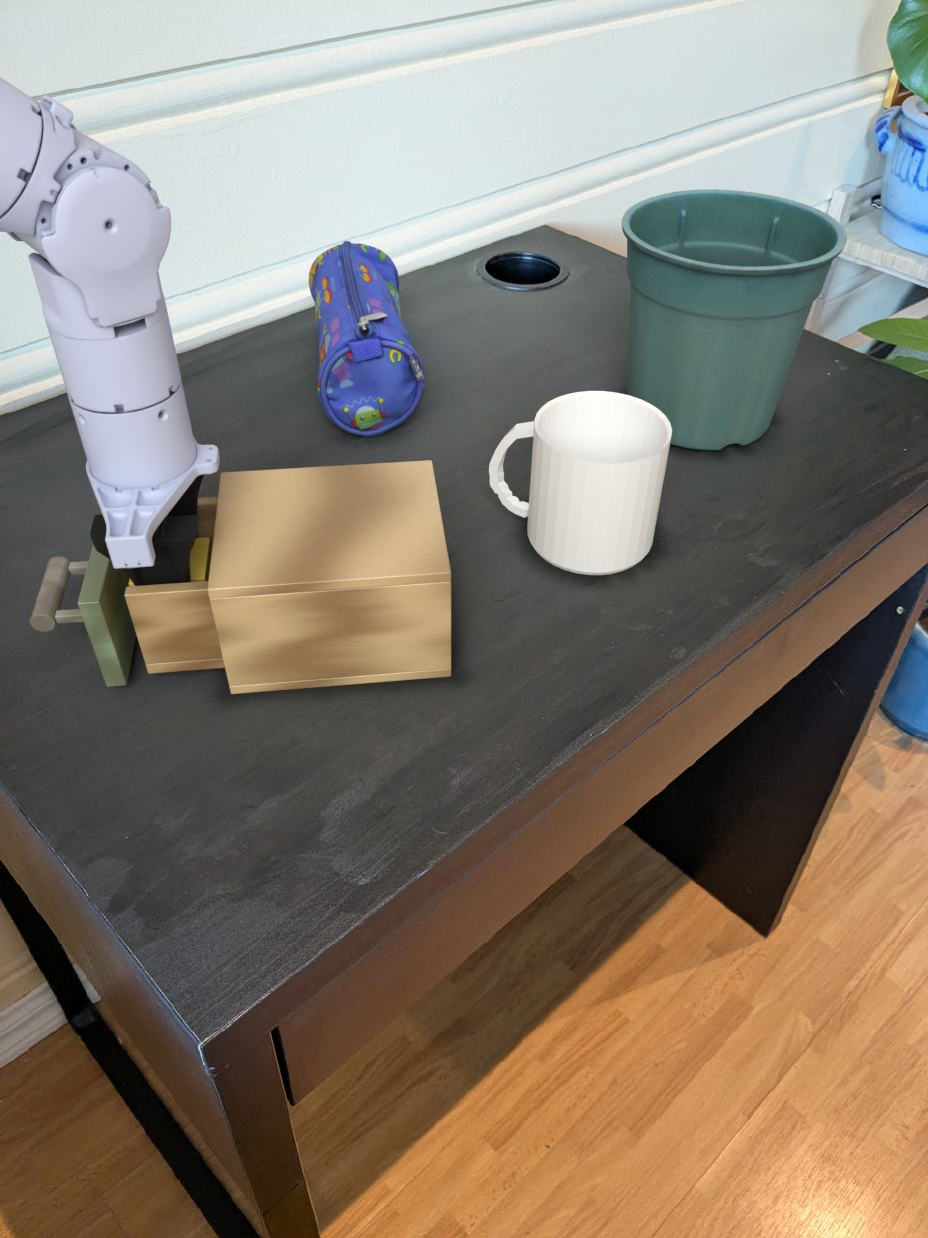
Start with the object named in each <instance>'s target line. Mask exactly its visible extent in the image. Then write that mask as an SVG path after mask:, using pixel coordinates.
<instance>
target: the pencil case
mask: <svg viewBox="0 0 928 1238" xmlns="http://www.w3.org/2000/svg"><path fill="white" fill-rule="evenodd" d="M396 266H397V265H396V264H395V262H394V261H393V259H392V258H391V257H390V255H388V254H387V253H386V252H384V251H383V250H381V249H380V248H377V247H375V246H371V245H368V244H364V243H360V242H359V243H353V242H351V241H350V240H344V241H343V242H342V243H341V244H336V245H334V246H333V247H330V248H329V249H327V250H324V251H323V252H321V253H320V254H319V255H318V256H317V257H316V258H315V259H314V261H313V262H312V264H311V265H310V268H309V272H308V288H309V293H310V295H311V297H312V300H313V302H314V314H315V315H314V316H315V325H316V330H317V337H318V364H319V369H318V374H317V379H316V380H317V381H316V385H317V386H316V387H317V388H316V390H317V397H318V401H319V403H320V405H321V407H322V410H323V412H324V413H325V415H326V417H327V418H328V419H329V420H330V422H332V423H333V424H334V425H335V426H336V427H338V428H339V429H341V430H343V432H346V433H349V434H352V435H356V436H360V437H364V438H372V437H376V436H380V435H383V434H384V433H386V432H388V431H390V430H392V429H395V428H396V427H397V426H400V425H401V424H403V423H404V422H405V421H406V420H408V419H409V418H410V417H411V416H412V415H413V414H414V412H415V411H416V410H417V408H418V406H419V405H420V402H421V400H422V398H423V395H424V391H425V383H426V381H425V380H426V379H425V378H426V377H425V369H424V365H423V362H422V360H421V357H420V355H419V354H418V352H417V351H416V350H415V349H414V347H413V345H412V341H411V338H410V337H411V336H410V335H409V332H408V331H407V330H406V327H405V326H404V324H403V321H402V311H401V303H400V297H399V295H400V276H399V272H398V269H397V267H396Z"/></svg>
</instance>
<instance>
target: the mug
mask: <svg viewBox="0 0 928 1238" xmlns="http://www.w3.org/2000/svg"><path fill="white" fill-rule="evenodd" d="M671 435H672V428H671V424H670V422H669V420H668V419H667V417H666V416H665V415H664V414H663V413H662V412H661V411H660V410H659V409H657V408H656V407H654V406H653V405H651V404H650V403H648V402H645V401H643V400H641V399H638V398H635V397H632V396H629V395H627V394H625V393H620V392H616V391H615V392H614V391H606V390H585V391H576V392H572V393H566V394H563V395H560V396H557V397H555V398H553V399H551V400H549V401H547V402H546V403H545V404H544V405H542V406H541V407H540V408H539V409H538V411H537V412H536V414H535V417H534V420H533V421H526V422H520V423H516V424H515V425H514V426H513V427H512V428H511V429H510V430H509V431H508V432H507V433H506V434H505V435H504V436H503V438H502V439H501V441H500V442H499V444H498V445H497V447H496V448H495V450H494V453H493V454H492V457H491V459H490V462H489V465H488V474H489V487H490V488H491V489H492V491H493V492H494V494H497V497H498V499H499V501H500V503H501V505H502V506H504V507H505V508H506V509H507V510H508V511H510V512H511V513H513V514H515V515H516V516H518V517H521V518H524V519H525V518H527V524H526V525H527V526H526V527H527V528H526V530H527V531H526V532H527V537H528V540H529V544H530V545H531V546H532V548H533V549H534V551H535V552H536V553H537V555H539V556H540V558H542V559H543V560H544V561H545V562H547V563H549V564H551V565H552V566H554V567H556V568H559V569H560V570H563V571H566V572H570V573H574V574H579V575H586V576H604V575H613V574H618V573H621V572H624V571H626V570H628V569H632V568H633V567H634V566H635V565H637V564H639V563H640V562H641V561H642V560H643V559H644V558H645V557H646V556H647V555H648V554H649V552H650V550H651V549H652V546H653V543H654V537H655V530H656V525H657V520H658V514H659V508H660V502H661V499H662V498H661V497H662V492H663V485H664V480H665V474H666V469H667V464H668V458H669V452H670V446H671V444H670V442H671ZM532 437H533V438H532ZM525 438H532V448H531V449H532V450H531V451H532V452H531V464H530V465H531V467H530V480H529V481H530V482H529V495H528V502H526V501H523V500H521V501H520V499H519V498H518V497H517V496H516V495H513V491H512V490H510V488H509V485H508V483H507V482H506V481H505V472H504V462H505V458H506V454H507V451H508V449H509V447H510V446H511V445H512V444H513V443H514V442H515V441H516V440H518V439H525Z"/></svg>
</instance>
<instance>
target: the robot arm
mask: <svg viewBox="0 0 928 1238" xmlns="http://www.w3.org/2000/svg"><path fill="white" fill-rule="evenodd" d="M73 120H74V113H73V110H71V109H69V108H68V107H66V106H65V105H64V104H62V103H61V102H59V101H58V100H56V99H54V98H52V97H51V96H49V95H47V94H44V95H42V96H41V97H40V99H39V101H38V100H36V99H34V98H33V97H32V96H30V95H28V94H27V93H25V92H24V91H23V90H21V89H19V88H18V87H16V86H15V85H14V84H12V83H10V82H9V81H7V80H6V79H4V78H3V77H1V76H0V233H6V234H7V235H8V236H9V237H10V238H12V239H13V240H14V241H17V242H23V243H25V244H26V245H27V246H29V247H30V248H31V249H32V250H34V251H35V252H30V254H29V255H28V257H27V258H28V261H29V264H30V267H31V271H32V274H33V277H34V281H35V284H36V288H37V291H38V294H39V298H40V300H41V309H42V315H43V317H44V320H45V324H46V328H47V332H48V333H49V338H50V340H51V344H52V348H53V351H54V354H55V357H56V361H57V364H58V367H59V371H60V375H61V377H62V380H63V384H64V387H65V390H66V394H67V398H68V402H69V405H70V409H71V411H72V415H73V417H74V421H75V424H76V427H77V431H78V434H79V437H80V441H81V443H82V447H83V450H84V451H83V452H84V453H85V454H84V455H85V457H86V462H85V471H86V474H87V477H88V481H89V483H90V485H91V489H92V491H93V494H94V497H95V499H96V502H97V505H98V507H99V509H100V514H94V516H93V520H92V523H91V527H90V530H89V536H90V539H91V542H92V546H93V545H94V547H95V549H96V550H97V552H99V553H101V554H102V555H104V556H105V557H107V558H109V559H110V560H111V561H112V564H113V567H114V569H119V568H121V569H122V570H123V571H124V572H125V573H126V575H127V576H128V577H129V578H130V579H131V581H132V582H133V584H134V585H135V586H142V585H157V584H171V583H186V582H191V577H190V552H191V550H192V548H193V545H194V542H195V539H196V538H198V526H199V519H200V515H197V506H198V498H199V494H200V493H199V492H200V489H201V484H202V482H203V479H204V477H205V475H211V474H214V473H217V472H218V470H219V468H220V459H221V456H220V450H219V447H218V446H217V445H215V444H200V443H198V442H197V440H196V439H195V436H194V433H193V429H192V424H191V418H190V414H189V410H188V405H187V400H186V395H185V389H184V386H183V380H182V374H181V370H180V364H179V360H178V355H177V350H176V346H175V341H174V336H173V332H172V327H171V321H170V316H169V313H168V308H167V302H166V298H165V294H164V292H163V291H164V290H163V287H162V283H161V278H160V277H161V276H160V273H159V269H160V266H161V263H162V261H163V258H164V257H165V254H166V252H167V249H168V247H169V242H170V240H171V239H170V238H171V233H172V232H171V231H172V215H171V209H170V208H169V206H168V207H167V206H164V205H163V204H162V203H161V202H160V199H159V195H158V193H157V190H156V189H154V188H152V186H151V183H152V181H151V180H150V178H149V176H148V175H147V174H146V173H145V172H144V171H143V170H142V169H141V168H140V167H139V165H137V164H135V163H134V162H133V161H132V160H130V159H129V158H128V157H126V156H124V155H122V154H120V153H119V152H116V151H114V150H113V149H111V148H109V147H108V146H106V145H104V144H103V143H101V142H99V141H98V140H96V139H93V138H92V137H91V136H88V135H86V133H85V134H84V133H83V132H81V131H79V130H78V128H77V127H76V126H75V125H74V123H73ZM101 512H102V514H101Z"/></svg>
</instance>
